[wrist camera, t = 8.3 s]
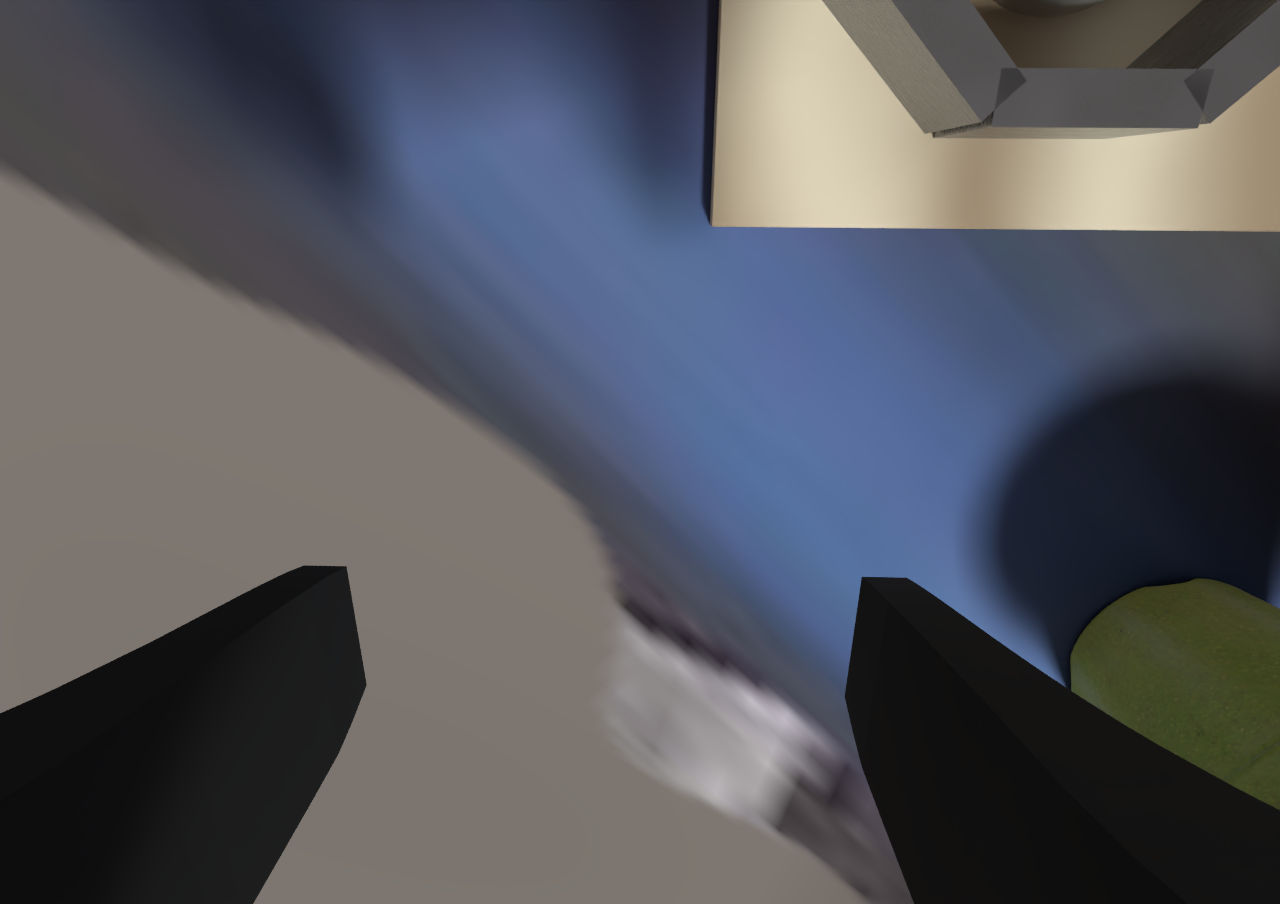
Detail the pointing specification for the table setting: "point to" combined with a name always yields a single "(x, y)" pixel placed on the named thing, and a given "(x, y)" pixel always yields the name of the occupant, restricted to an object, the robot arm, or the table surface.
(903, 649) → the robot arm
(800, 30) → the mount plate
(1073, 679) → the plant pot
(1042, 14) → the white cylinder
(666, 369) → the table surface
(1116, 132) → the lens ring
